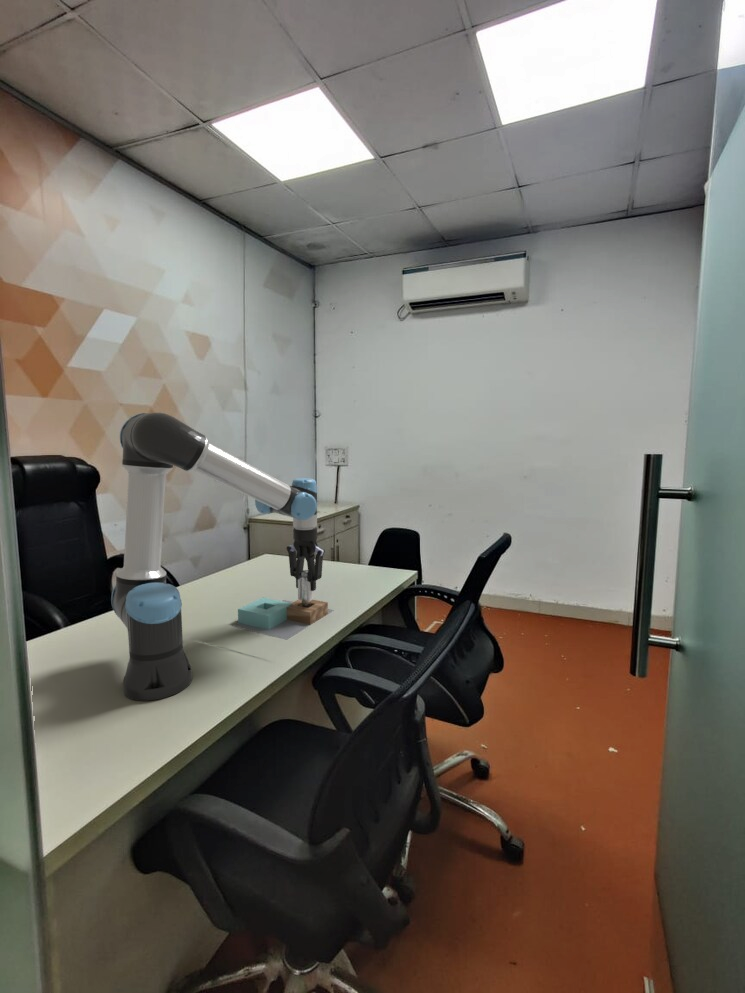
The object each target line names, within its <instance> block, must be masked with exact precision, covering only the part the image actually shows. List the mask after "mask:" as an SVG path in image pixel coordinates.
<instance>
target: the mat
mask: <svg viewBox="0 0 745 993" xmlns="http://www.w3.org/2000/svg"><path fill="white" fill-rule="evenodd" d="M282 601H283V602H288V603H293V602H294V601H290V600H287V599H286V600H285V599H284V600H282ZM334 611H335V610H334V609H329V608H328V614H327V615H329V614H331V613H332V612H334ZM323 618H324V617H322V618H321V619H323ZM315 623H316V622H314V623H313V624H315ZM309 626H311V625H309V624H304V623H300V622H295V621H291V620H285V621H284V622H282V623H280V624H278V625H276V626H275V627H273V628H271V629H269V630H267V629H263V628H259V627H255V626H251V625H247V624H243V623H238V622H236V623H234V624H233V625H231V627H233V628H238V629H242V630H246V631H250V632H255V633H258V634H262V635H266V636H270V637H275V638H278V639H283V640H289V639H291V638H292V637H294V636H295V635H297V634H298V633H300V632H302V631H303V630H306V628H308V627H309Z"/></svg>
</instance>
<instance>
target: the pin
mask: <svg viewBox="0 0 745 993" xmlns="http://www.w3.org/2000/svg"><path fill="white" fill-rule="evenodd" d="M308 580H309V573H308V569H303V571H301V601H302V607H305V608H309V607H311V601H308V598H307V581H308Z"/></svg>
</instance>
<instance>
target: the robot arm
mask: <svg viewBox="0 0 745 993" xmlns="http://www.w3.org/2000/svg"><path fill="white" fill-rule="evenodd" d="M119 441H120V442H119V443H120V445H121V448H122V461H121V462H122V464H121V466H122V467H123V468H124V469H125V470H126V471H127V473H128V478H127V499H126V500H127V501H126V519H125V534H124V535H125V536H124V555H123V567H121V569H119V570H118V571H117V572H116V578H115V579H116V580H115V585H114V587H113V589H112V592H111V598H110V601H111V602H110V603H111V607H112V610H113V612H114V613H115V615H116V616H117V618H119V619H120V621H121V622H122V623H123V625H124V626H125V627H126V630H127V637H128V639H127V640H128V653H129V659H128V663H127V667H126V670H125V675H124V677H123V680H122V690H123V695H124V697H127V698H129V699H131V700H136V701H143V702H144V701H146V702H147V701H155V700H161V699H164V698H169V697H171V696H173V695H176V694H178V693H180V692H182V691H183V690H185V689H186V688H187V687H189V685H190V684H191V683H192V681H193V670H192V666H191V664H190V662H189V659H188V657H187V655H186V652H185V649H184V644H183V643H184V642H183V638H184V636H183V623H182V622H183V620H182V605H183V603H182V599H181V594H180V591H179V589H178V587H176V586H174V585H173V584H170V583H167V571H166V570H165V569H164V568H163V567H162V564H161V563H162V550H163V549H162V546H163V533H164V531H163V530H164V529H163V528H164V517H165V516H164V515H165V513H164V512H165V500H166V499H165V498H166V497H165V496H166V478H167V475H168V474H169V473H170V472H171V471H172V470H173V468H174V467H176V468H179V469H180V470H181V469H182V470H184V471H185V472H190V471H195V472H197V473H199V474H201V475H204V476H206V477H208V478H209V479H211V480H214V481H217V482H218V483H220V484H223V485H225V486H226V487H229V488H231V489H233V490H235V491H237V492H239V493H241V494H243V495H245V496H246V497H249V498H251V499H253V500H254V504H255V508H256V510H257V511H258V513H259V514H268V515H269V514H272V513H273V514H279V515H283V516H287V517H290V518H292V527H293V530H292V532H293V534H292V535H293V536H292V538H293V540H294V541H293V543H292V544H290V545H288V546H287V545H286V550H287V554H288V562H289V573H290V576H291V577H294V578H295V587H296V589H297V600H299V599H301V571H303V570H304V568H305V567H304V565H305V561H306V564H307V570H308V573H309V580H308V581H307V598H308V601H311V600H315V591H316V589H317V581H318V580H320V579H321V578H322V576H323V575H322V574H323V561H324V555H325V553H326V550H325V549H324V548H322V549H321V548H320V547H319V545H318V543H317V541H318V540H317V539H318V528H317V527H318V486H317V481H316V480H315V479H314V478H309V477H303V478H294V479H293V480H292V482H291V485H289V484H287V483H286V482H283V481H281V479H278V478H275V477H274V476H273V475H271V474H268V473H267V472H265V471H263V470H261V469H260V468H257V467H256V466H254V465H252V464H249V463H248V462H246V461H244V460H242V459H241V458H239V457H236V456H235V455H233V454H231V453H229V452H227V451H225V450H224V449H221V448H220V447H218V446H216V445H214V444H212V443H211V442H209V440H208V438H207V436H206V435H205V434H203V433H201V432H199V431H197V430H196V429H194V428H193V427H190V426H189V425H187V424H186V423H185V422H183V421H181V420H180V419H177V418H176V417H174V416H172V415H170V414H167V413H165V412H142V413H138V414H135V415H133V416H131V417H130V418H129V419H127V420H126V421H125V422H124V423H123V425H122V426H121V428H120V432H119Z"/></svg>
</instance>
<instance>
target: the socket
mask: <svg viewBox="0 0 745 993" xmlns="http://www.w3.org/2000/svg"><path fill="white" fill-rule="evenodd" d="M291 605H292V603H288V602H283V600H278V599H272V598H267V597H261V598H258V599H257V600H255V601H252V602H249V603H248V604H246V605H243V606H241V607H240V608H237V623H243V624H247V625H251V626H255V627H259V628H263V629H267V630H269V629H271V628H273V627H275V626H276V625H278V624H280V623H282V622H284V621H285V620H287V607H289V606H291Z"/></svg>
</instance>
